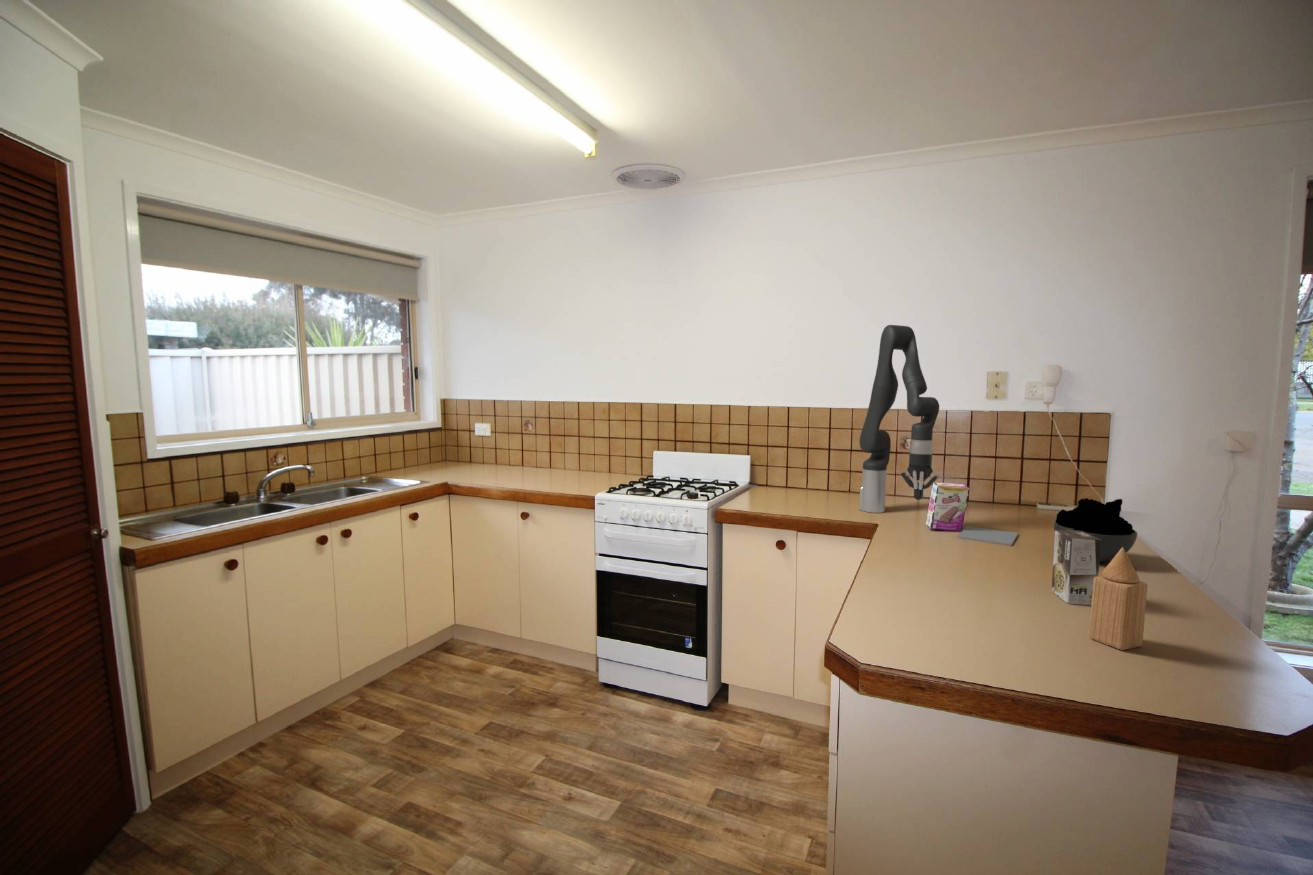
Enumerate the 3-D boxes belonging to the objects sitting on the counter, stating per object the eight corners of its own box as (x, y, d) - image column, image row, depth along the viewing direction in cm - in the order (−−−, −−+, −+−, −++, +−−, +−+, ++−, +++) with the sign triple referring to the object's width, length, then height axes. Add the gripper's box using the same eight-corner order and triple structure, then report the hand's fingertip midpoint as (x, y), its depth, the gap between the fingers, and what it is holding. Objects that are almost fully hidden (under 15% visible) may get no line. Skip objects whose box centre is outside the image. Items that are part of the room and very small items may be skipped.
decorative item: (1087, 638, 122) (1094, 543, 120) (1108, 633, 125) (1116, 540, 123) (1122, 652, 116) (1130, 552, 114) (1143, 646, 119) (1152, 549, 117)
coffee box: (1097, 606, 140) (1102, 539, 138) (1067, 604, 141) (1072, 538, 140) (1078, 592, 149) (1083, 530, 147) (1050, 590, 150) (1054, 528, 149)
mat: (957, 537, 201) (957, 535, 201) (967, 527, 216) (967, 525, 215) (1011, 545, 192) (1011, 543, 192) (1018, 534, 206) (1018, 532, 206)
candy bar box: (930, 529, 210) (937, 485, 206) (925, 525, 215) (931, 481, 211) (962, 532, 209) (970, 487, 206) (956, 527, 214) (963, 483, 211)
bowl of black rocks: (1055, 564, 172) (1060, 500, 171) (1047, 547, 190) (1051, 489, 188) (1142, 574, 163) (1148, 507, 161) (1125, 556, 181) (1130, 495, 179)
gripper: (898, 451, 215) (896, 498, 217) (937, 454, 207) (934, 503, 208) (905, 450, 221) (902, 495, 222) (943, 452, 213) (940, 500, 214)
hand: (918, 499), depth 215 cm, fingers closed
